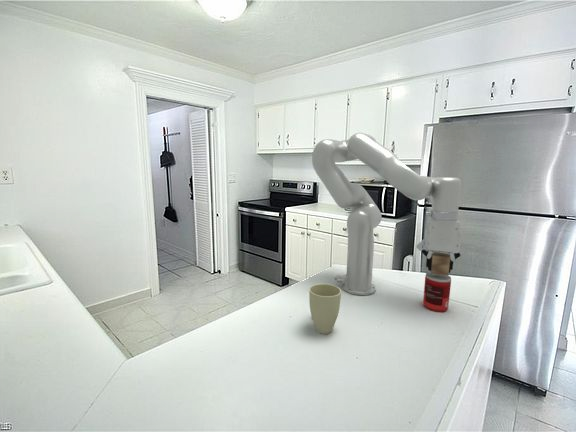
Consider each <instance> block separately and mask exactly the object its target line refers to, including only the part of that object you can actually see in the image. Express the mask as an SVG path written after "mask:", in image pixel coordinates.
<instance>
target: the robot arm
mask: <svg viewBox="0 0 576 432" xmlns="http://www.w3.org/2000/svg"><path fill="white" fill-rule="evenodd" d="M356 160H358V161H359V162H362V164H364V165H365V166H367V167H368V168H370V169H371V170H373V171H374V172H375V173H377V174H378V175H379V177H381V179H383V180H384V181H386V183H388V185H390V186H392V187H393V188H394V189H395V190H396V191H398V192H399V193H401V194H402V195H404V196H405V197H407V198H409V199H410V200H413V201H421V200H424V199H430V198H431V199H432V201H431V210H430V211H426V213H425V214H426V217H429V218H428V219H427V220H428V221H427V223H426V228H425V232H424V238H423V239H422V240H421V241H419V243H418V244H416V246H415V247H416V249H417V250H418V251H420V252H421V253H422V254H423V255H424V256H425V257H426V262H425V267H426V268H427V270H428V271H429V272H430V271H431V265H432V259H431V256H432V253H433V252H439V253H448V255H449V256H450V266H449V274H450V273H451V271H452V270H453V269H454V262H455V260H456V259H458V258H460V257H461V256H463V255H465V254H466V253H468V251H467V249H466V247H465V246H464V245H463V244H462V241H461V239H462V228H461V226H462V225H461V222H460V221H459V220H458V216H459V206H460V197H461V187H462V181H461V179H460V178H458V177H451V176H450V177H449V176H448V177H447V176H444V177H443V176H442V177H441V176H440V177H433V176H432V177H431V176H426V175H425V176H424V175H420V174H418V173H417V172H415V171H414V170H412V169H411V168H410V167H409V166H407V165H405V164H404V163H403V162H402V161H401V160H400V158H398V156H397V154H396V153H394V151H391V150H390V149H389V148H387V147H386V146H384V145H383V144H381V143H379V142H378V141H377V140H376V138H375V137H373V135H370V134H367V133H363V132H357V133H354V134H352V135H351V136H350V137H349V138H348V139H344V140H341V141H340V140H336V139H333V138H332V139H329V138H326V139H322V140H320V141H319V142H318V143H317V144H316V145H315V146H314V148H313V151H312V154H311V163H312V167H313V170H314V172H315V173H316V175H317V176H318V178H319V179H320V181H321V182H322V183H323V185H324V187H325V189H326V190H327V191H328V193H329V195H330V196H331V197H332V199H333V200H334V202H335V204H336V205H337V206H338V207H339V208H341V209H344V210H345V209H346V210H347V209H350V213H349V215H348V216H347V219H346V229H347V257H346V259H347V260H346V274H344V275H339V274H335V277H334V280H336V282H338V283H341V288H342V289H343V290H344V291H345V292H347V293H349V294H352V295H357V296H368V295H373V294H374V293H375V292H376V290H377V289H376V285H374V284H373V270H374V269H373V265H374V250H375V249H374V247H375V242H374V241H375V237H374V229H376V228H377V227H379V225H380V224H381V221H382V213H381V210H380V209H379V207H378V206H377V204H376V203H375V201H374V200H373V199H372V197H371V196H370V194H369V193H368V191H367V190H366V189H365V188H364V187H363V186H362V185H361V184H358V183H356V182H355V183H354V182H353V183H352V182H351V181H350V180H349V179H348V178H347V176H346V175H345V173H344V172H343V171H342V170H341V168H340V167H339V166H338V165H337V164H336V163H345V162H351V161H356ZM423 247H424V248H423Z"/></svg>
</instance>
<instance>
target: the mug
mask: <svg viewBox="0 0 576 432" xmlns="http://www.w3.org/2000/svg"><path fill="white" fill-rule="evenodd" d="M308 293H309V311H310V315H311V319H312V323H313V326H314V328H315V331H316V332H317V333H319V334H323V335H326V334H330V333H332V331H333V330H334V327H335V325H336V323H337V322H336V321H337V319H338V317H339V313H340V307H341V297H342V295H341V294H342V290H341V288H340V287H338V286H336V285H333V284H330V283H317V284H313V285H310V286H309V289H308Z"/></svg>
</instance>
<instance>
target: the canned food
mask: <svg viewBox="0 0 576 432" xmlns="http://www.w3.org/2000/svg"><path fill="white" fill-rule="evenodd" d="M424 277H425V278H424V286H423V287H424V288H423V298H422V299H423V300H422V303H423V307H425V309H428V310H429V311H432V312H436V313H444V312H446V311H448V309H449V303H450V296H451V285H452V277H451V276H450V275H439V274H431V272H430V271H429V272H426V273H425V276H424Z"/></svg>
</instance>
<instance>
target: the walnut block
mask: <svg viewBox="0 0 576 432" xmlns="http://www.w3.org/2000/svg"><path fill="white" fill-rule="evenodd" d="M431 259H432V265H431V271H429V272H431V274H439V275H448V276H450V275H449V274H450V273H449V266H450V256H449V254H448V253H447V252H436V251H433V253H432V256H431Z"/></svg>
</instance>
